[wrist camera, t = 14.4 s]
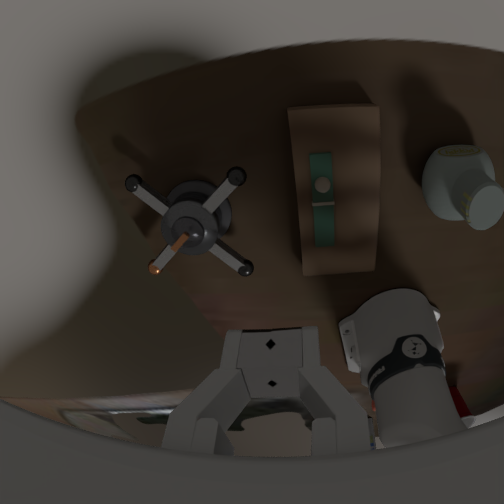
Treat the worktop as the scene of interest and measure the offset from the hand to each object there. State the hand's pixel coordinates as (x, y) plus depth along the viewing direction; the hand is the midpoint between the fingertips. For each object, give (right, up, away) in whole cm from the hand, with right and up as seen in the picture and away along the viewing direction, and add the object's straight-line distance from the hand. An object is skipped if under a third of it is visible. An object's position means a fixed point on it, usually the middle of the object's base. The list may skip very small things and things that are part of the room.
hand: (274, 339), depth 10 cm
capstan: (-8, +8, +30) cm, 32 cm away
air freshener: (+25, +13, +24) cm, 37 cm away
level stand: (+10, +10, +27) cm, 31 cm away
